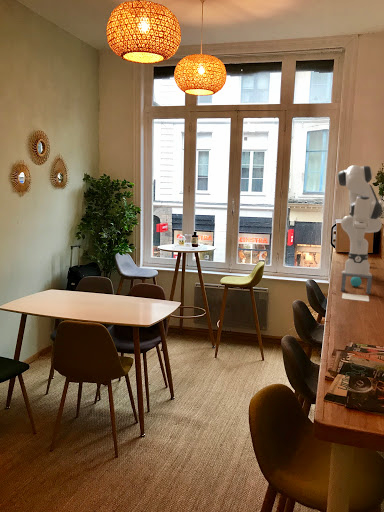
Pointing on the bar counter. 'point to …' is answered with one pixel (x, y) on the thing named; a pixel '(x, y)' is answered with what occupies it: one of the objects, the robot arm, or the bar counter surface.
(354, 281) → the ball
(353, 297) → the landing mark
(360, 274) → the bridge
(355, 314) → the bar counter surface
